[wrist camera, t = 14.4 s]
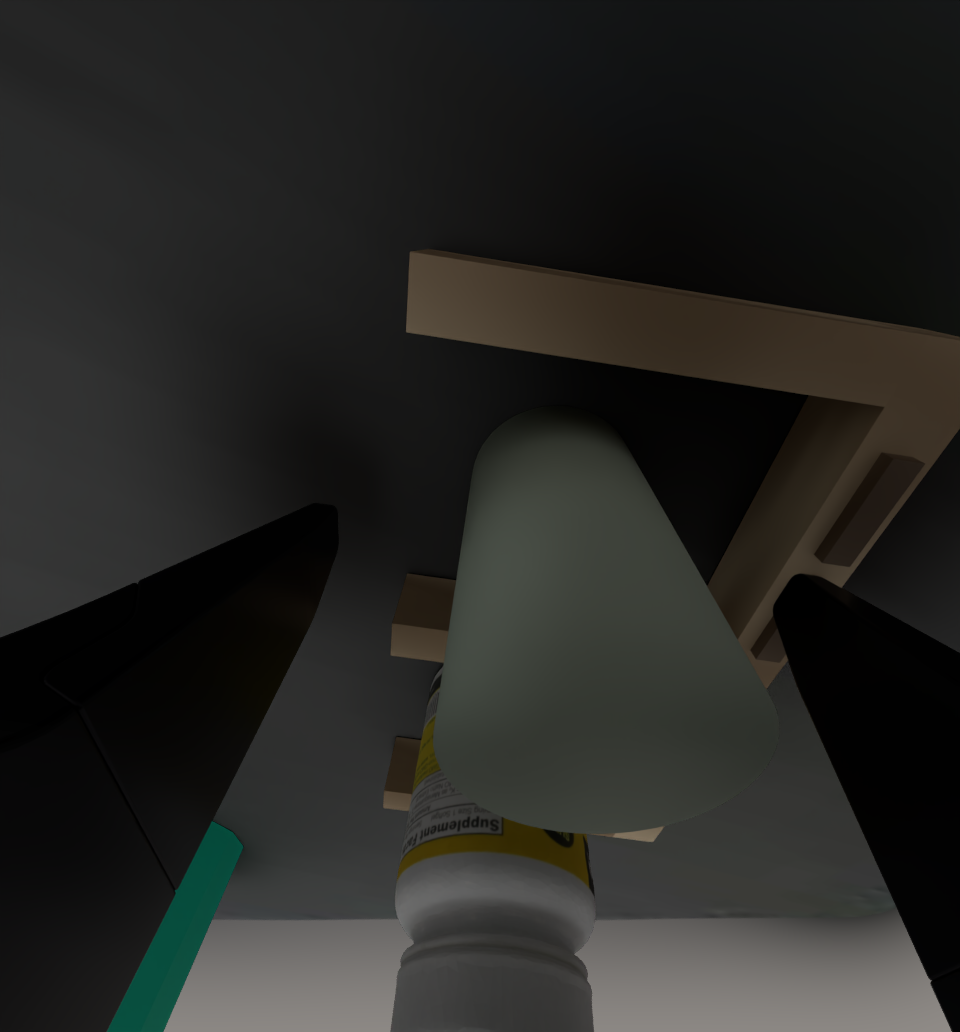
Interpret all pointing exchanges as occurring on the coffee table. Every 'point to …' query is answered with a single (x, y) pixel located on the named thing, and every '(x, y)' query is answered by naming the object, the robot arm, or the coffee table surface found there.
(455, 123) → the coffee table surface
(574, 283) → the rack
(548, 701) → the post
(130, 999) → the candle
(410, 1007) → the supplement bottle
